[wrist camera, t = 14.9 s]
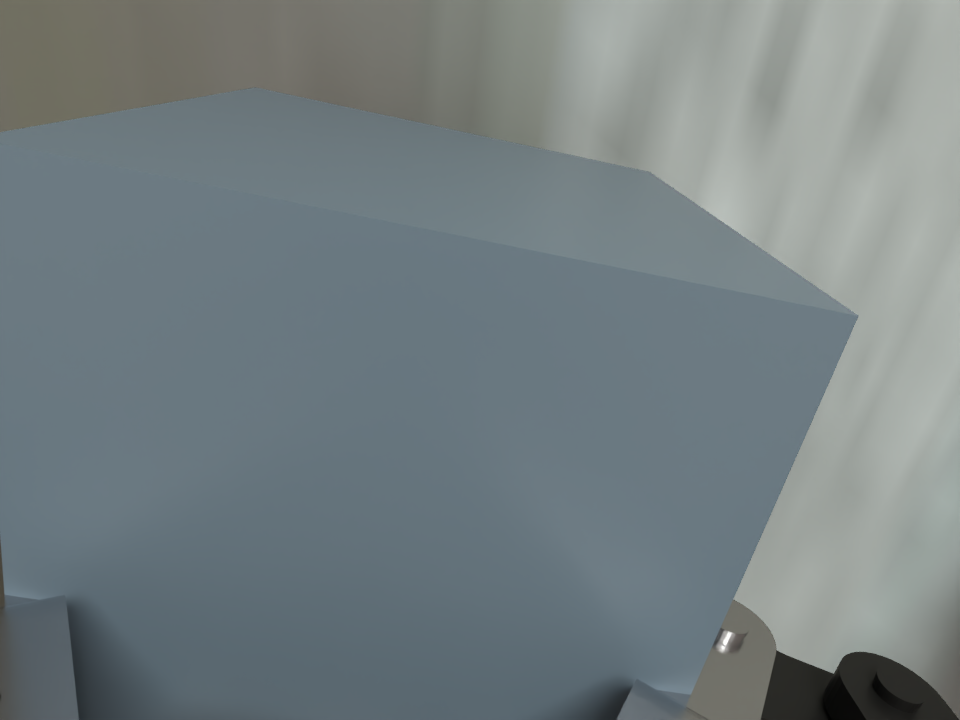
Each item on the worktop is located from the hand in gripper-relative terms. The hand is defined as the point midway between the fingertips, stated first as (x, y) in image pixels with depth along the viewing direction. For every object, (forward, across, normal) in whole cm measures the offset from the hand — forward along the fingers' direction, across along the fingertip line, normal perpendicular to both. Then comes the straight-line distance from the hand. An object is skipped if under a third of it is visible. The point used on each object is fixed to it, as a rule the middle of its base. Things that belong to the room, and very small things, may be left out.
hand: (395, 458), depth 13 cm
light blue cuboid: (+2, 0, 0) cm, 2 cm away
